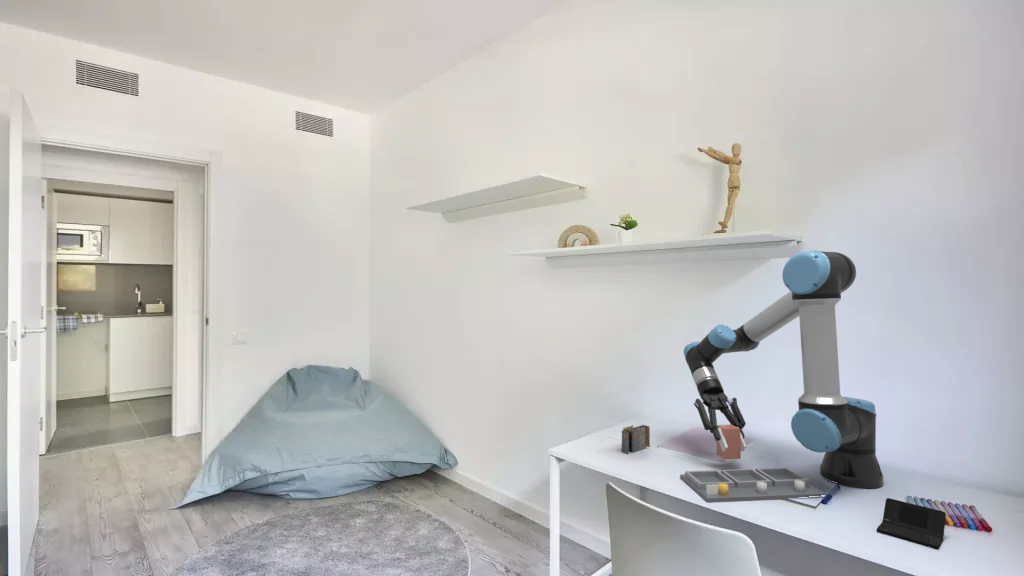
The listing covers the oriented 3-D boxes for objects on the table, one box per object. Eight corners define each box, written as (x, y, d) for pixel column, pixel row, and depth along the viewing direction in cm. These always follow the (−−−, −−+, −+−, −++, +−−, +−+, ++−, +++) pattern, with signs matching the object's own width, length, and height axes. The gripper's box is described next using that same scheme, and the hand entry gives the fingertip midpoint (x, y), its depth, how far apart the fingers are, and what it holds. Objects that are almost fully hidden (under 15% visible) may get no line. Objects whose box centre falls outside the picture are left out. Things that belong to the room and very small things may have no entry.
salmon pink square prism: (732, 453, 160) (731, 424, 160) (740, 458, 155) (740, 428, 155) (716, 454, 160) (716, 425, 160) (724, 459, 155) (724, 429, 155)
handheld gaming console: (876, 528, 114) (884, 486, 118) (875, 538, 119) (883, 496, 123) (943, 552, 107) (950, 506, 111) (939, 561, 112) (945, 517, 116)
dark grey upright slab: (629, 455, 170) (629, 426, 170) (621, 453, 173) (621, 424, 173) (650, 449, 177) (650, 420, 177) (643, 446, 180) (643, 418, 180)
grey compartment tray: (785, 473, 152) (785, 462, 152) (825, 497, 135) (825, 484, 135) (680, 477, 149) (680, 466, 149) (707, 502, 132) (707, 489, 132)
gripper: (730, 389, 174) (758, 454, 157) (678, 391, 172) (701, 456, 155) (738, 376, 168) (768, 441, 152) (684, 378, 167) (709, 444, 150)
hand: (734, 449), depth 154 cm, fingers closed on salmon pink square prism, 5 cm apart
